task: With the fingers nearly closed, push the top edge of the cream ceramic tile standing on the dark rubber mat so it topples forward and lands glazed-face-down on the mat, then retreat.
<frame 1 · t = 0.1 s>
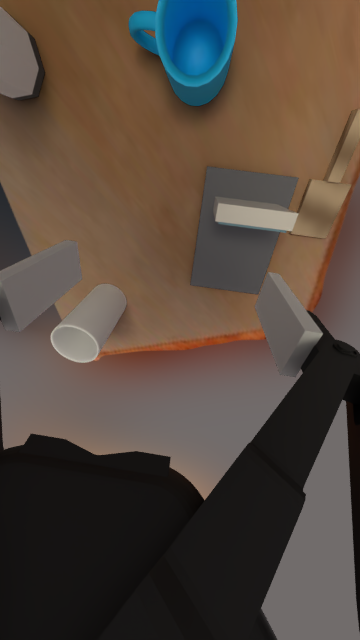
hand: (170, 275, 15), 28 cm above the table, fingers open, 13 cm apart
wine bottle: (17, 62, 30), on the table
cup: (109, 299, 50), on the table
tile: (243, 208, 36), point 1 cm above the table, touching mat
mat: (235, 237, 40), on the table
turner: (328, 181, 34), on the table
mug: (183, 59, 28), on the table
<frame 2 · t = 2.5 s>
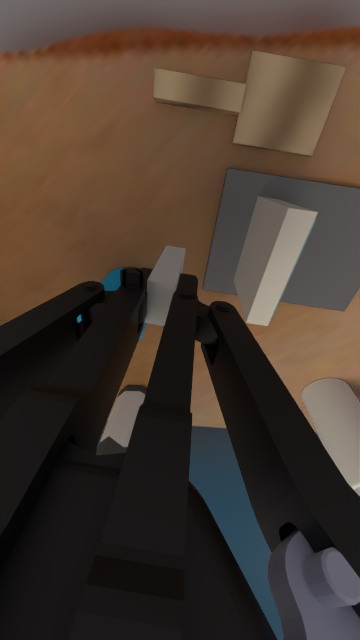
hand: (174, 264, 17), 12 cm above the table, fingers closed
wine bottle: (137, 395, 47), on the table
cup: (324, 391, 42), on the table
tile: (254, 244, 26), point 1 cm above the table, touching mat
mat: (291, 247, 27), on the table
turner: (240, 103, 21), on the table
mug: (128, 303, 34), on the table
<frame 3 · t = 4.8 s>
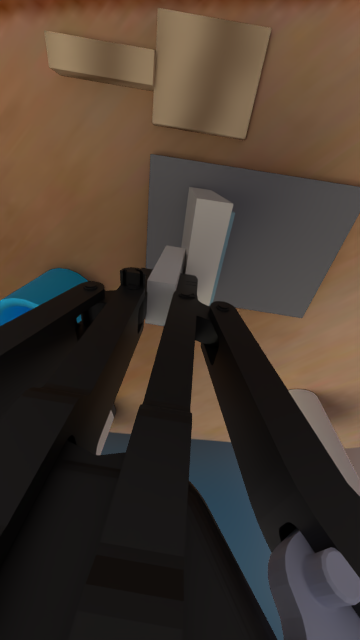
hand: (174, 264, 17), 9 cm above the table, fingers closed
cup: (292, 403, 38), on the table
tile: (193, 242, 23), point 1 cm above the table, tilted 6°, touching gripper, mat
mat: (237, 246, 24), on the table
turner: (156, 76, 17), on the table
mug: (70, 306, 31), on the table
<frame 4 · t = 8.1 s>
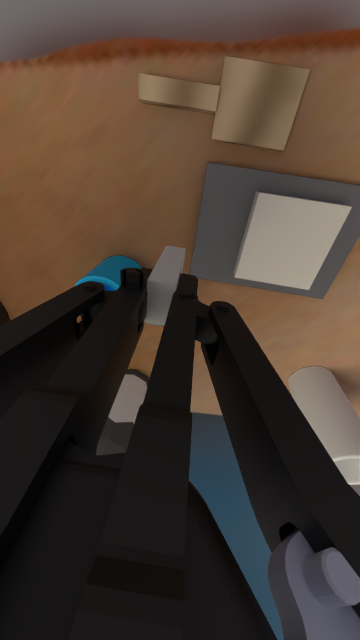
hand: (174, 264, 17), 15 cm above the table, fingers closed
wine bottle: (133, 379, 50), on the table
cup: (309, 380, 43), on the table
tile: (244, 237, 27), point 2 cm above the table, tilted 90°, touching mat
mat: (270, 237, 29), on the table
turner: (217, 103, 23), on the table
mug: (122, 289, 37), on the table
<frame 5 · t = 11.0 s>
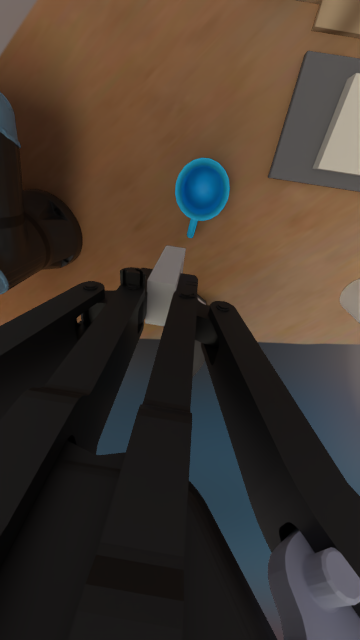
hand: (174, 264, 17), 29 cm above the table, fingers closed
wine bottle: (190, 306, 53), on the table
tile: (331, 126, 31), point 2 cm above the table, tilted 90°, touching mat
mat: (348, 133, 33), on the table
mug: (199, 200, 40), on the table
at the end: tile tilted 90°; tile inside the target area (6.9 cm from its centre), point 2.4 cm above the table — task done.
